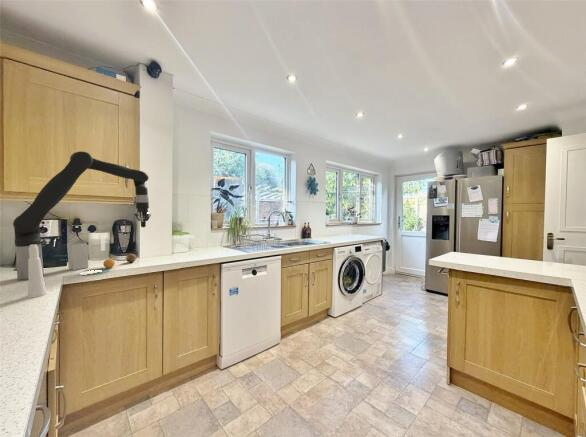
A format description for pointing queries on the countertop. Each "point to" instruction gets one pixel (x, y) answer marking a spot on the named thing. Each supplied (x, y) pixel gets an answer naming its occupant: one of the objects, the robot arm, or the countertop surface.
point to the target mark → (98, 272)
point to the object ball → (109, 263)
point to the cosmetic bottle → (35, 274)
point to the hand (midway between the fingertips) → (143, 227)
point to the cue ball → (131, 258)
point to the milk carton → (77, 254)
